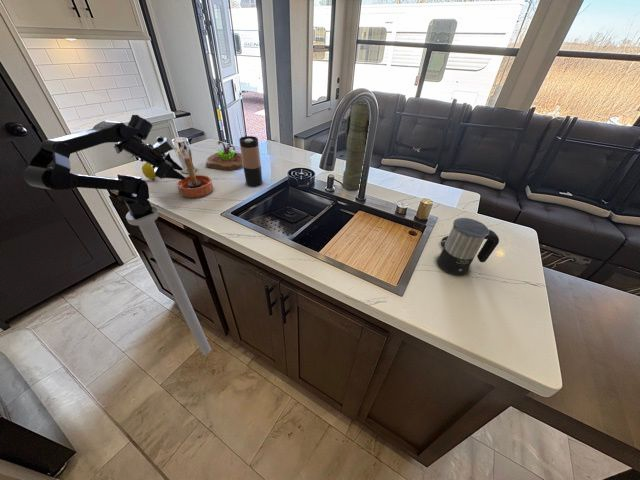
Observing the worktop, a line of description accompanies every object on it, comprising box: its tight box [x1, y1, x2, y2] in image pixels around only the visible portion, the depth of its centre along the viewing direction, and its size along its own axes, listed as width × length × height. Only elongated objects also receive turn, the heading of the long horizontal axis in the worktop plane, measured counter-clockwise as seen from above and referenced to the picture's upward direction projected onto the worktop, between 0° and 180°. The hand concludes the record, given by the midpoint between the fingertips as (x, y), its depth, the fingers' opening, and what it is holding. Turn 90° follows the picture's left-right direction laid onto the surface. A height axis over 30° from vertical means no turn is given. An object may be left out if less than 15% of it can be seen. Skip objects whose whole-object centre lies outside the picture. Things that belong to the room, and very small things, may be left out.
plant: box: [205, 140, 244, 171], centre depth 131 cm, size 20×20×11 cm
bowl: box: [176, 174, 214, 199], centre depth 108 cm, size 13×13×4 cm
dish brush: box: [184, 157, 202, 189], centre depth 104 cm, size 5×5×14 cm
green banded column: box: [342, 101, 370, 192], centre depth 108 cm, size 9×12×35 cm
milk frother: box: [436, 217, 500, 276], centre depth 78 cm, size 14×16×15 cm
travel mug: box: [238, 135, 263, 188], centre depth 111 cm, size 8×8×20 cm
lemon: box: [141, 162, 157, 181], centre depth 113 cm, size 6×6×8 cm
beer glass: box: [171, 136, 197, 174], centre depth 120 cm, size 7×7×15 cm
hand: (183, 174), depth 102 cm, fingers open, 9 cm apart
